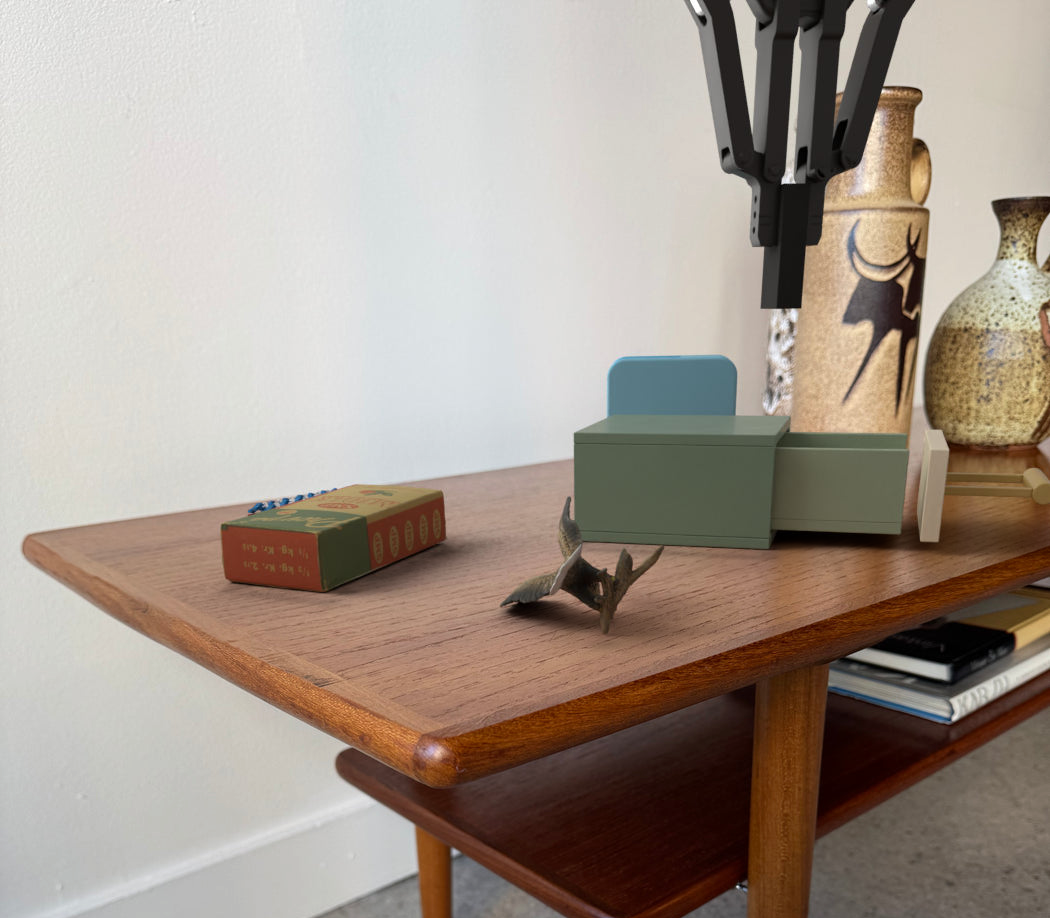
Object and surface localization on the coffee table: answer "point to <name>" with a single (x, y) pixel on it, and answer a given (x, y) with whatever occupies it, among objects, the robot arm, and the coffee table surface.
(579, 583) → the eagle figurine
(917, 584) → the coffee table surface
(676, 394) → the blue rounded panel
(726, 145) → the robot arm
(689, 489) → the cabinet
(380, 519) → the carton
